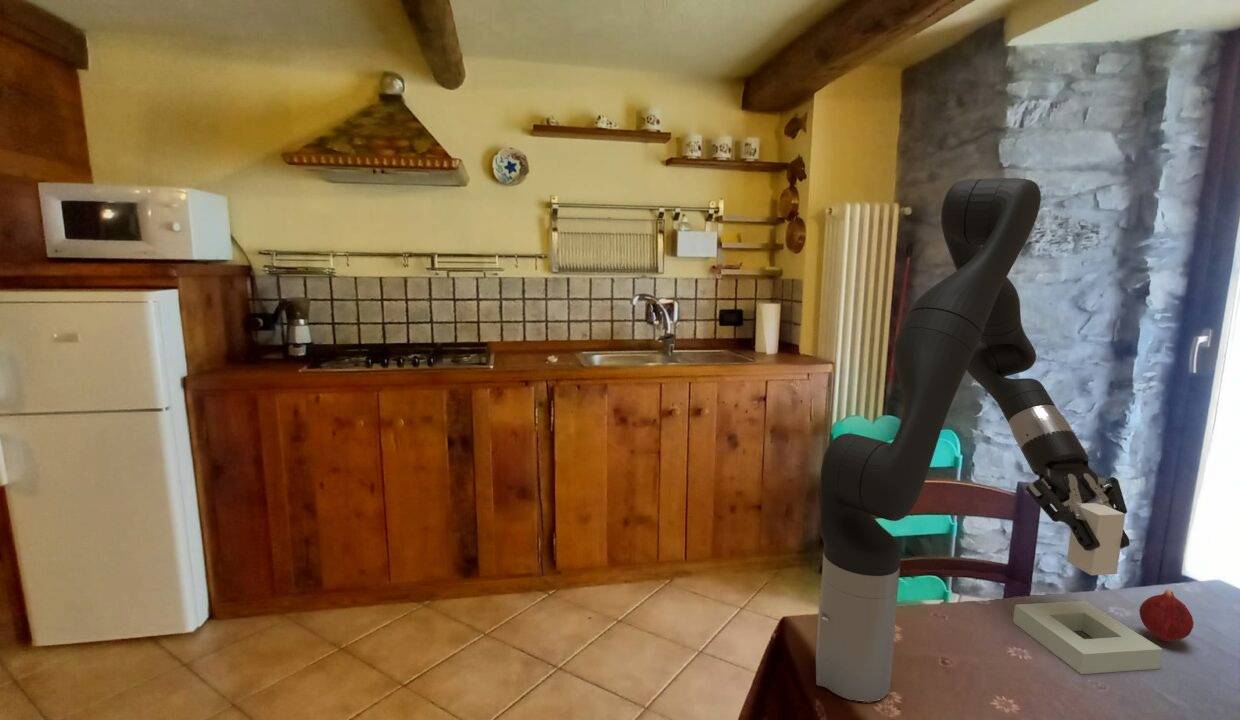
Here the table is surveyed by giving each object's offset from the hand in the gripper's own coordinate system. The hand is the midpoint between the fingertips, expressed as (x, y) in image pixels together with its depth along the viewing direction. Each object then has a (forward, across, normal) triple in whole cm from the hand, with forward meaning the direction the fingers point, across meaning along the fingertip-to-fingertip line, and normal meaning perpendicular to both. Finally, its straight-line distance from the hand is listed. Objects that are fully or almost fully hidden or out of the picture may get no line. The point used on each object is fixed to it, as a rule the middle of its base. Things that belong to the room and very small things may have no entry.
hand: (1107, 547), depth 81 cm
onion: (+11, +13, +13) cm, 21 cm away
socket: (+10, 0, +13) cm, 16 cm away
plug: (+2, 0, +4) cm, 5 cm away
